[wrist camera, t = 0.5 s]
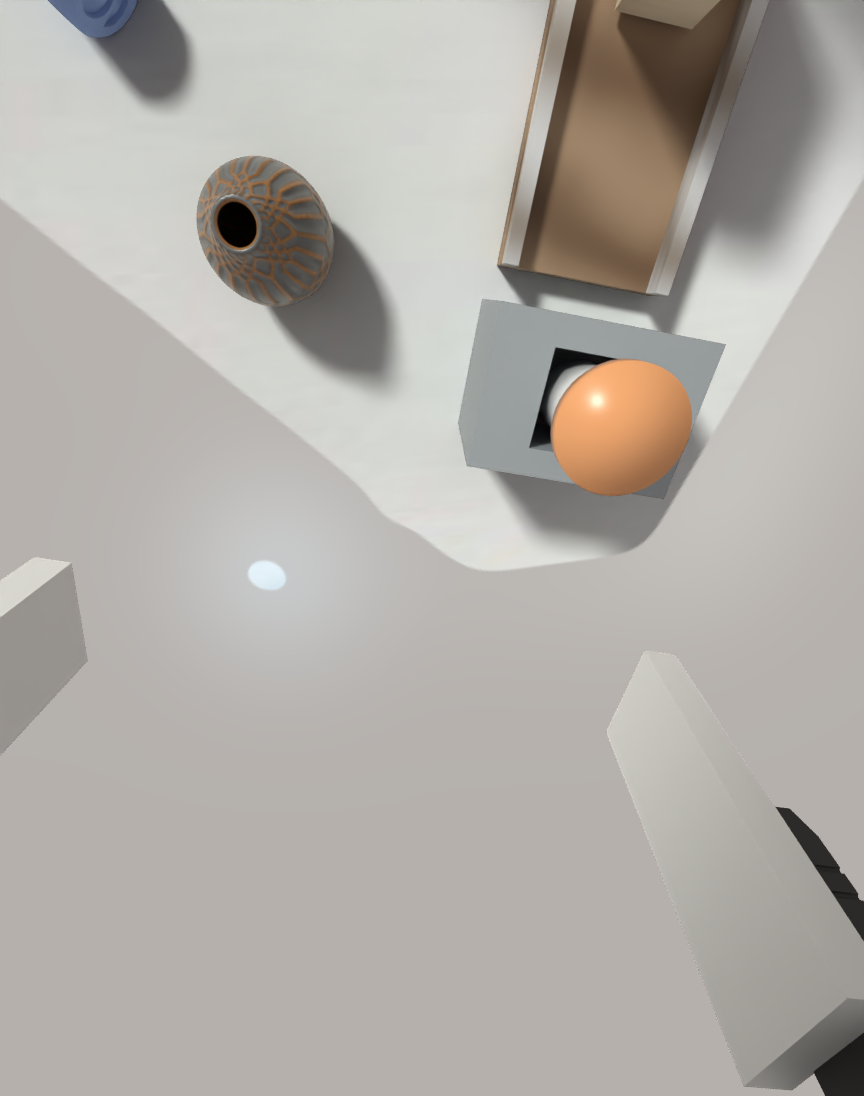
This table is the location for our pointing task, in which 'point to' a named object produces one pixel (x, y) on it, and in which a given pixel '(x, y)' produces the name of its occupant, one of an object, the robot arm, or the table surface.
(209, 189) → the vase
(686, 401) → the plunger
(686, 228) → the rail board
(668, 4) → the beige wooden block
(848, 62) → the table surface
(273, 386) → the table surface
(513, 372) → the cabinet
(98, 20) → the decorative dice
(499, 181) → the table surface
